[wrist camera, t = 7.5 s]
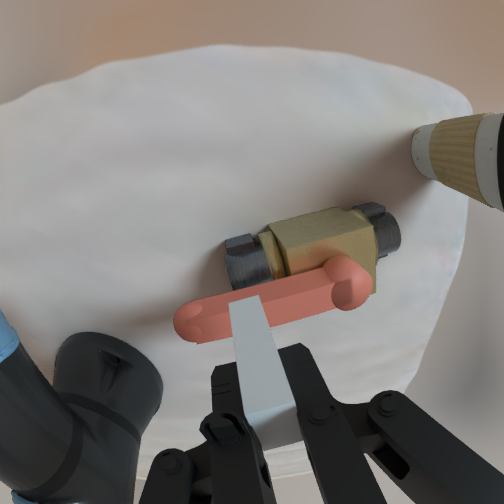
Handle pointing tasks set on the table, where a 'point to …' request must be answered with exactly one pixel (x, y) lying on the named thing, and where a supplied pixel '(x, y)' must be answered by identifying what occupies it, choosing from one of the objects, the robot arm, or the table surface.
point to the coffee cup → (464, 155)
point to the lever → (279, 300)
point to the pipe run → (313, 244)
